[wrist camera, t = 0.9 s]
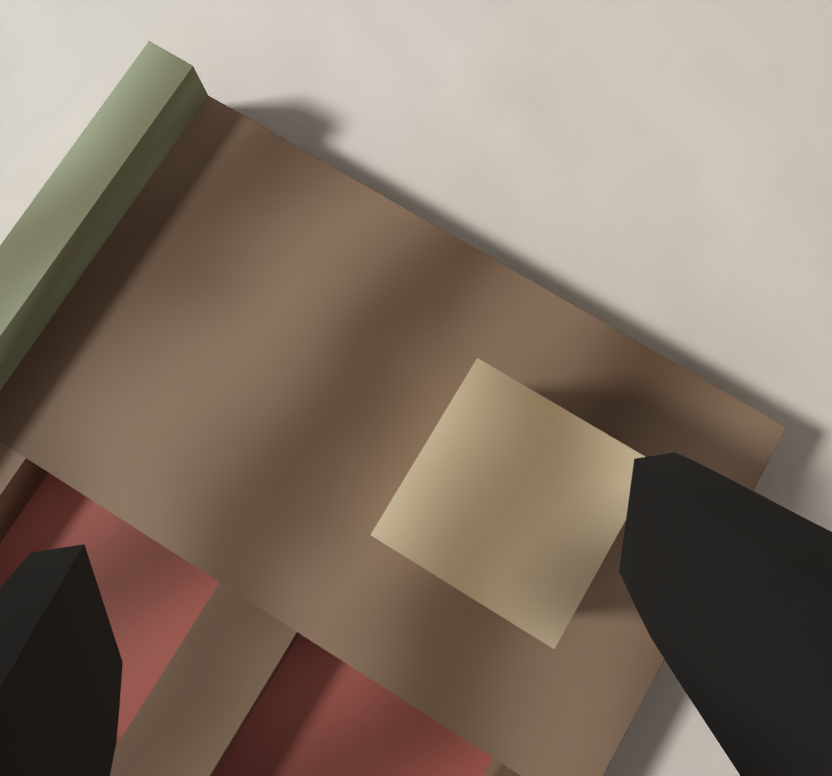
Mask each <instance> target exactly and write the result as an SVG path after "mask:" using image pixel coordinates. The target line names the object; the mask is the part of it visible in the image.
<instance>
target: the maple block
mask: <svg viewBox="0 0 832 776" xmlns="http://www.w3.org/2000/svg"><path fill="white" fill-rule="evenodd" d="M642 457H645V456H643V455H642V454H640V453H638V452H636V451H635V450H633V449H631V448H630V447H628V446H626V445H625V444H623V443H621V442H619V441H618V440H616V439H614V438H613V437H611V436H609V435H608V434H606V433H604V432H602V431H601V430H599V429H597V428H596V427H594V426H592V425H591V424H589V423H587V422H585V421H584V420H582V419H580V418H579V417H577V416H575V415H574V414H572V413H570V412H568V411H567V410H565V409H563V408H562V407H560V406H558V405H557V404H555V403H553V402H551V401H550V400H548V399H546V398H545V397H543V396H541V395H540V394H538V393H536V392H534V391H533V390H531V389H529V388H528V387H526V386H524V385H523V384H521V383H519V382H518V381H516V380H514V379H512V378H511V377H509V376H507V375H506V374H504V373H502V372H501V371H499V370H497V369H495V368H494V367H492V366H490V365H489V364H487V363H485V362H484V361H482V360H480V359H478V358H477V359H476V361H475V362H474V364H473V366H472V367H471V369H470V371H469V372H468V374H467V376H466V377H465V379H464V381H463V382H462V384H461V386H460V387H459V389H458V391H457V392H456V394H455V396H454V397H453V399H452V401H451V402H450V404H449V406H448V407H447V409H446V410H445V412H444V414H443V415H442V417H441V419H440V420H439V422H438V424H437V425H436V427H435V429H434V430H433V432H432V434H431V435H430V437H429V439H428V440H427V442H426V444H425V445H424V447H423V449H422V450H421V452H420V454H419V455H418V457H417V458H416V460H415V462H414V463H413V465H412V467H411V468H410V470H409V472H408V473H407V475H406V477H405V478H404V480H403V482H402V483H401V485H400V487H399V488H398V490H397V492H396V493H395V495H394V497H393V498H392V500H391V502H390V503H389V505H388V506H387V508H386V510H385V511H384V513H383V515H382V516H381V518H380V520H379V521H378V523H377V525H376V526H375V528H374V530H373V531H372V533H371V536H373V537H374V538H376V539H378V540H379V541H381V542H382V543H384V544H386V545H387V546H389V547H390V548H392V549H394V550H395V551H397V552H398V553H400V554H402V555H403V556H405V557H406V558H408V559H410V560H411V561H413V562H415V563H416V564H418V565H419V566H421V567H423V568H424V569H426V570H427V571H429V572H431V573H432V574H434V575H435V576H437V577H439V578H440V579H442V580H443V581H445V582H447V583H448V584H450V585H452V586H453V587H455V588H456V589H458V590H460V591H461V592H463V593H464V594H466V595H468V596H469V597H471V598H472V599H474V600H476V601H477V602H479V603H480V604H482V605H484V606H485V607H487V608H488V609H490V610H492V611H493V612H495V613H497V614H498V615H500V616H501V617H503V618H505V619H506V620H508V621H509V622H511V623H513V624H514V625H516V626H517V627H519V628H521V629H522V630H524V631H525V632H527V633H529V634H530V635H532V636H534V637H535V638H537V639H538V640H540V641H542V642H543V643H545V644H546V645H548V646H550V647H551V648H553V649H555V647H556V645H557V644H558V642H559V640H560V638H561V636H562V635H563V633H564V631H565V629H566V627H567V626H568V624H569V622H570V620H571V618H572V616H573V615H574V613H575V611H576V609H577V607H578V606H579V604H580V602H581V600H582V598H583V597H584V595H585V593H586V591H587V589H588V587H589V586H590V584H591V582H592V580H593V578H594V577H595V575H596V573H597V571H598V569H599V568H600V566H601V564H602V562H603V560H604V558H605V557H606V555H607V553H608V551H609V549H610V548H611V546H612V544H613V542H614V540H615V539H616V537H617V535H618V533H619V531H620V529H621V528H622V526H623V524H624V522H625V520H626V516H627V509H628V501H629V494H630V486H631V479H632V472H633V464H634V459H635V458H642Z"/></svg>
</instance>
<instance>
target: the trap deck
mask: <svg viewBox="0 0 832 776" xmlns="http://www.w3.org/2000/svg"><path fill="white" fill-rule="evenodd" d="M477 358H478V359H480V360H482V361H484V362H485V363H487V364H489V365H490V366H492V367H494V368H495V369H497V370H499V371H501V372H502V373H504V374H506V375H507V376H509V377H511V378H512V379H514V380H516V381H518V382H519V383H521V384H523V385H524V386H526V387H528V388H529V389H531V390H533V391H534V392H536V393H538V394H540V395H541V396H543V397H545V398H546V399H548V400H550V401H551V402H553V403H555V404H557V405H558V406H560V407H562V408H563V409H565V410H567V411H568V412H570V413H572V414H574V415H575V416H577V417H579V418H580V419H582V420H584V421H585V422H587V423H589V424H591V425H592V426H594V427H596V428H597V429H599V430H601V431H602V432H604V433H606V434H608V435H609V436H611V437H613V438H614V439H616V440H618V441H619V442H621V443H623V444H625V445H626V446H628V447H630V448H631V449H633V450H635V451H636V452H638V453H640V454H642V455H643V456H645V457H648V456H655V455H661V454H668V453H674V452H675V453H678V454H680V455H682V456H684V457H686V458H689V459H691V460H693V461H695V462H697V463H699V464H701V465H703V466H705V467H707V468H709V469H711V470H713V471H715V472H717V473H719V474H721V475H723V476H725V477H727V478H729V479H731V480H733V481H735V482H736V483H738V484H740V485H742V486H744V487H746V488H748V489H750V490H752V491H753V490H754V488H755V486H756V484H757V482H758V480H759V478H760V477H761V475H762V473H763V471H764V469H765V467H766V465H767V463H768V461H769V459H770V458H771V456H772V454H773V452H774V450H775V448H776V446H777V444H778V442H779V441H780V439H781V437H782V435H783V433H784V431H785V429H786V427H785V426H784V425H782V424H780V423H778V422H777V421H775V420H773V419H771V418H770V417H768V416H766V415H764V414H763V413H761V412H759V411H757V410H756V409H754V408H752V407H750V406H749V405H747V404H745V403H743V402H742V401H740V400H738V399H736V398H735V397H733V396H731V395H729V394H728V393H726V392H724V391H722V390H721V389H719V388H717V387H716V386H714V385H712V384H710V383H709V382H707V381H705V380H703V379H702V378H700V377H698V376H696V375H695V374H693V373H691V372H689V371H688V370H686V369H684V368H682V367H681V366H679V365H677V364H675V363H674V362H672V361H670V360H668V359H667V358H665V357H663V356H661V355H660V354H658V353H656V352H654V351H653V350H651V349H649V348H648V347H646V346H644V345H642V344H641V343H639V342H637V341H635V340H634V339H632V338H630V337H628V336H627V335H625V334H623V333H621V332H620V331H618V330H616V329H614V328H613V327H611V326H609V325H607V324H606V323H604V322H602V321H600V320H599V319H597V318H595V317H593V316H592V315H590V314H588V313H586V312H585V311H583V310H581V309H580V308H578V307H576V306H574V305H573V304H571V303H569V302H567V301H566V300H564V299H562V298H560V297H559V296H557V295H555V294H553V293H552V292H550V291H548V290H546V289H545V288H543V287H541V286H539V285H538V284H536V283H534V282H532V281H531V280H529V279H527V278H525V277H524V276H522V275H520V274H518V273H517V272H515V271H513V270H512V269H510V268H508V267H506V266H505V265H503V264H501V263H499V262H498V261H496V260H494V259H492V258H491V257H489V256H487V255H485V254H484V253H482V252H480V251H478V250H477V249H475V248H473V247H471V246H470V245H468V244H466V243H464V242H463V241H461V240H459V239H457V238H456V237H454V236H452V235H450V234H449V233H447V232H445V231H444V230H442V229H440V228H438V227H437V226H435V225H433V224H431V223H430V222H428V221H426V220H424V219H423V218H421V217H419V216H417V215H416V214H414V213H412V212H410V211H409V210H407V209H405V208H403V207H402V206H400V205H398V204H396V203H395V202H393V201H391V200H389V199H388V198H386V197H384V196H382V195H381V194H379V193H377V192H376V191H374V190H372V189H370V188H369V187H367V186H365V185H363V184H362V183H360V182H358V181H356V180H355V179H353V178H351V177H349V176H348V175H346V174H344V173H342V172H341V171H339V170H337V169H335V168H334V167H332V166H330V165H328V164H327V163H325V162H323V161H321V160H320V159H318V158H316V157H314V156H313V155H311V154H309V153H308V152H306V151H304V150H302V149H301V148H299V147H297V146H295V145H294V144H292V143H290V142H288V141H287V140H285V139H283V138H281V137H280V136H278V135H276V134H274V133H273V132H271V131H269V130H267V129H266V128H264V127H262V126H260V125H259V124H257V123H255V122H253V121H252V120H250V119H248V118H246V117H245V116H243V115H241V114H239V113H238V112H236V111H234V110H233V109H231V108H229V107H227V106H226V105H224V104H222V103H220V102H219V101H217V100H215V99H213V98H212V97H210V96H208V94H207V92H206V90H205V88H204V87H203V85H202V83H201V81H200V79H199V77H198V75H197V73H196V71H195V69H194V67H193V66H192V65H190V64H189V63H187V62H185V61H183V60H182V59H180V58H178V57H176V56H175V55H173V54H171V53H169V52H168V51H166V50H164V49H162V48H161V47H159V46H157V45H155V44H154V43H152V42H150V41H149V42H148V43H147V45H146V46H145V47H144V49H143V50H142V52H141V53H140V54H139V56H138V57H137V58H136V60H135V61H134V63H133V64H132V65H131V67H130V68H129V69H128V71H127V72H126V74H125V75H124V76H123V78H122V79H121V80H120V82H119V83H118V85H117V86H116V87H115V89H114V90H113V91H112V93H111V94H110V96H109V97H108V98H107V100H106V101H105V102H104V104H103V105H102V107H101V108H100V109H99V111H98V112H97V113H96V115H95V116H94V117H93V119H92V120H91V122H90V123H89V124H88V126H87V127H86V128H85V130H84V131H83V133H82V134H81V135H80V137H79V138H78V139H77V141H76V142H75V144H74V145H73V146H72V148H71V149H70V150H69V152H68V153H67V155H66V156H65V157H64V159H63V160H62V161H61V163H60V164H59V166H58V167H57V168H56V170H55V171H54V172H53V174H52V175H51V177H50V178H49V179H48V181H47V182H46V183H45V185H44V186H43V188H42V189H41V190H40V192H39V193H38V194H37V196H36V197H35V199H34V200H33V201H32V203H31V204H30V205H29V207H28V208H27V210H26V211H25V212H24V214H23V215H22V216H21V218H20V219H19V221H18V222H17V223H16V225H15V226H14V227H13V229H12V230H11V232H10V233H9V234H8V236H7V237H6V238H5V240H4V241H3V243H2V244H1V245H0V587H1V586H2V585H3V584H4V582H5V581H6V580H7V579H8V578H9V577H10V576H11V574H12V573H13V572H14V571H15V570H16V569H17V568H18V566H19V565H20V564H21V563H22V562H23V561H24V560H25V559H26V558H27V557H28V555H29V554H30V553H31V552H37V551H44V550H50V549H56V548H63V547H69V546H76V545H82V544H85V547H86V550H87V553H88V556H89V560H90V563H91V566H92V569H93V572H94V575H95V578H96V581H97V584H98V587H99V590H100V594H101V597H102V600H103V603H104V606H105V609H106V612H107V615H108V618H109V621H110V624H111V628H112V631H113V634H114V637H115V640H116V643H117V646H118V649H119V652H120V655H121V659H122V662H123V666H122V680H121V694H120V708H119V718H118V729H117V740H116V747H115V752H114V757H113V763H112V768H111V773H110V776H603V774H604V772H605V770H606V768H607V766H608V765H609V763H610V761H611V759H612V757H613V755H614V753H615V751H616V749H617V748H618V746H619V744H620V742H621V740H622V738H623V736H624V734H625V732H626V730H627V729H628V727H629V725H630V723H631V721H632V719H633V717H634V715H635V713H636V712H637V710H638V708H639V706H640V704H641V702H642V700H643V698H644V696H645V694H646V693H647V691H648V689H649V687H650V685H651V683H652V681H653V679H654V677H655V676H656V674H657V672H658V670H659V668H660V666H661V664H662V662H663V660H664V658H663V656H662V654H661V653H660V651H659V650H658V648H657V646H656V645H655V643H654V642H653V640H652V638H651V637H650V635H649V633H648V631H647V629H646V627H645V625H644V623H643V621H642V619H641V617H640V615H639V613H638V611H637V609H636V607H635V605H634V603H633V601H632V599H631V596H630V594H629V592H628V590H627V588H626V585H625V583H624V581H623V579H622V577H621V575H620V572H619V568H620V560H621V553H622V546H623V538H624V531H625V523H626V520H625V522H624V524H623V526H622V528H621V529H620V531H619V533H618V535H617V537H616V539H615V540H614V542H613V544H612V546H611V548H610V549H609V551H608V553H607V555H606V557H605V558H604V560H603V562H602V564H601V566H600V568H599V569H598V571H597V573H596V575H595V577H594V578H593V580H592V582H591V584H590V586H589V587H588V589H587V591H586V593H585V595H584V597H583V598H582V600H581V602H580V604H579V606H578V607H577V609H576V611H575V613H574V615H573V616H572V618H571V620H570V622H569V624H568V626H567V627H566V629H565V631H564V633H563V635H562V636H561V638H560V640H559V642H558V644H557V645H556V647H555V649H553V648H551V647H550V646H548V645H546V644H545V643H543V642H542V641H540V640H538V639H537V638H535V637H534V636H532V635H530V634H529V633H527V632H525V631H524V630H522V629H521V628H519V627H517V626H516V625H514V624H513V623H511V622H509V621H508V620H506V619H505V618H503V617H501V616H500V615H498V614H497V613H495V612H493V611H492V610H490V609H488V608H487V607H485V606H484V605H482V604H480V603H479V602H477V601H476V600H474V599H472V598H471V597H469V596H468V595H466V594H464V593H463V592H461V591H460V590H458V589H456V588H455V587H453V586H452V585H450V584H448V583H447V582H445V581H443V580H442V579H440V578H439V577H437V576H435V575H434V574H432V573H431V572H429V571H427V570H426V569H424V568H423V567H421V566H419V565H418V564H416V563H415V562H413V561H411V560H410V559H408V558H406V557H405V556H403V555H402V554H400V553H398V552H397V551H395V550H394V549H392V548H390V547H389V546H387V545H386V544H384V543H382V542H381V541H379V540H378V539H376V538H374V537H373V536H371V533H372V531H373V530H374V528H375V526H376V525H377V523H378V521H379V520H380V518H381V516H382V515H383V513H384V511H385V510H386V508H387V506H388V505H389V503H390V502H391V500H392V498H393V497H394V495H395V493H396V492H397V490H398V488H399V487H400V485H401V483H402V482H403V480H404V478H405V477H406V475H407V473H408V472H409V470H410V468H411V467H412V465H413V463H414V462H415V460H416V458H417V457H418V455H419V454H420V452H421V450H422V449H423V447H424V445H425V444H426V442H427V440H428V439H429V437H430V435H431V434H432V432H433V430H434V429H435V427H436V425H437V424H438V422H439V420H440V419H441V417H442V415H443V414H444V412H445V410H446V409H447V407H448V406H449V404H450V402H451V401H452V399H453V397H454V396H455V394H456V392H457V391H458V389H459V387H460V386H461V384H462V382H463V381H464V379H465V377H466V376H467V374H468V372H469V371H470V369H471V367H472V366H473V364H474V362H475V361H476V359H477Z"/></svg>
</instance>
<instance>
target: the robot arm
mask: <svg viewBox="0 0 832 776" xmlns="http://www.w3.org/2000/svg"><path fill="white" fill-rule="evenodd" d="M619 572H620V575H621V577H622V579H623V581H624V583H625V585H626V588H627V590H628V592H629V594H630V596H631V599H632V601H633V603H634V605H635V607H636V609H637V611H638V613H639V615H640V617H641V619H642V621H643V623H644V625H645V627H646V629H647V631H648V633H649V635H650V637H651V638H652V640H653V642H654V643H655V645H656V646H657V648H658V650H659V651H660V653H661V654H662V656H663V658H664V659H665V661H666V662H667V664H668V665H669V667H670V668H671V670H672V672H673V673H674V675H675V676H676V678H677V679H678V681H679V682H680V684H681V686H682V687H683V689H684V690H685V692H686V693H687V695H688V696H689V698H690V699H691V701H692V702H693V704H694V705H695V707H696V708H697V710H698V711H699V713H700V715H701V716H702V718H703V719H704V721H705V722H706V724H707V725H708V727H709V728H710V730H711V731H712V733H713V734H714V736H715V737H716V739H717V740H718V742H719V744H720V745H721V747H722V748H723V750H724V751H725V753H726V754H727V756H728V757H729V759H730V760H731V762H732V763H733V765H734V766H735V768H736V770H737V771H738V773H739V774H740V776H832V532H831V531H829V530H827V529H825V528H823V527H821V526H819V525H817V524H815V523H813V522H811V521H809V520H807V519H805V518H803V517H801V516H799V515H797V514H795V513H793V512H792V511H790V510H788V509H786V508H784V507H782V506H780V505H778V504H776V503H774V502H772V501H771V500H769V499H767V498H765V497H763V496H761V495H759V494H757V493H755V492H754V491H752V490H750V489H748V488H746V487H744V486H742V485H740V484H738V483H736V482H735V481H733V480H731V479H729V478H727V477H725V476H723V475H721V474H719V473H717V472H715V471H713V470H711V469H709V468H707V467H705V466H703V465H701V464H699V463H697V462H695V461H693V460H691V459H689V458H686V457H684V456H682V455H680V454H678V453H675V452H674V453H668V454H661V455H655V456H648V457H642V458H635V459H634V464H633V472H632V479H631V486H630V494H629V501H628V509H627V516H626V523H625V531H624V538H623V546H622V553H621V560H620V568H619ZM122 666H123V662H122V659H121V655H120V652H119V649H118V646H117V643H116V640H115V637H114V634H113V631H112V628H111V624H110V621H109V618H108V615H107V612H106V609H105V606H104V603H103V600H102V597H101V594H100V590H99V587H98V584H97V581H96V578H95V575H94V572H93V569H92V566H91V563H90V560H89V556H88V553H87V550H86V547H85V544H82V545H76V546H69V547H63V548H56V549H50V550H44V551H37V552H31V553H30V554H29V555H28V557H27V558H26V559H25V560H24V561H23V562H22V563H21V564H20V565H19V566H18V568H17V569H16V570H15V571H14V572H13V573H12V574H11V576H10V577H9V578H8V579H7V580H6V581H5V582H4V584H3V585H2V586H1V587H0V776H110V773H111V768H112V763H113V757H114V752H115V747H116V740H117V729H118V718H119V708H120V694H121V680H122Z"/></svg>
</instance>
